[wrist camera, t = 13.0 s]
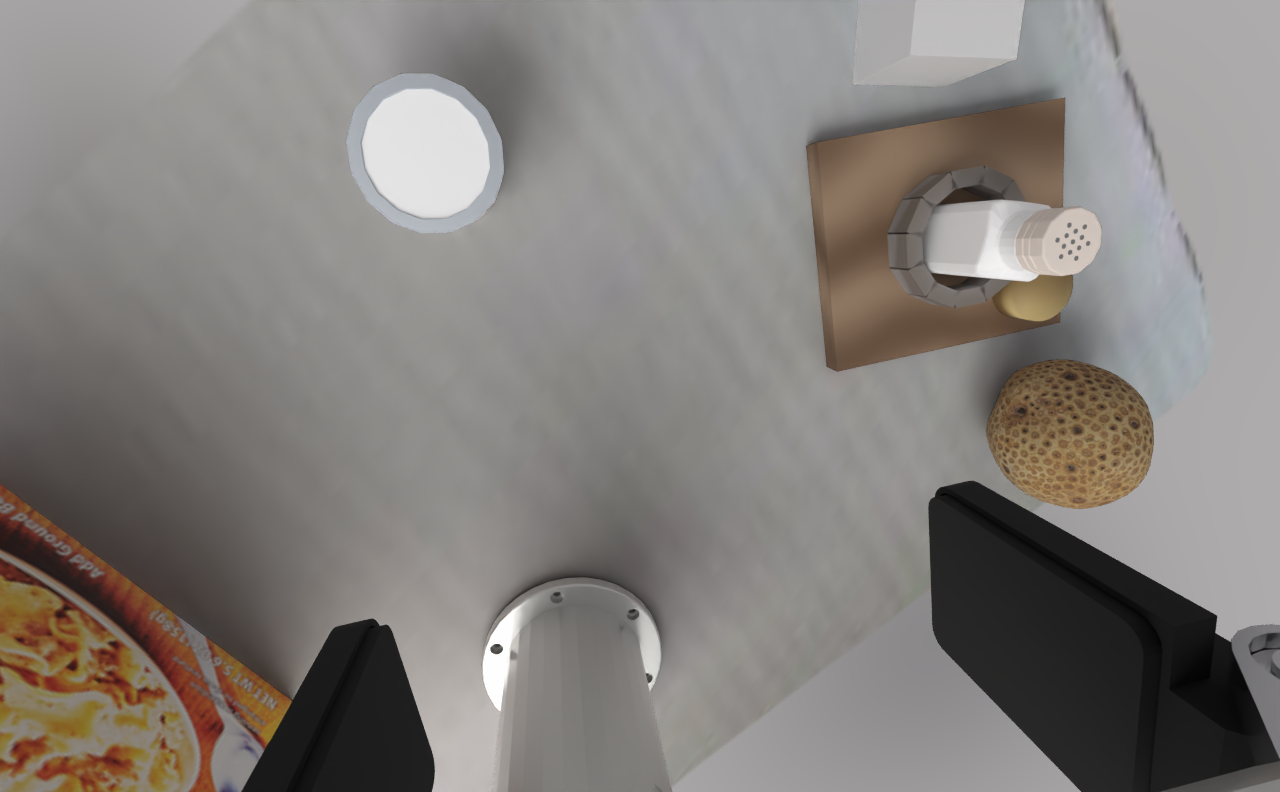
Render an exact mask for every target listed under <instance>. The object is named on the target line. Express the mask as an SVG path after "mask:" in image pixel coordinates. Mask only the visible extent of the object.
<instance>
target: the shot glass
mask: <svg viewBox="0 0 1280 792" xmlns="http://www.w3.org/2000/svg"><path fill="white" fill-rule="evenodd" d="M346 143H347V150H348V156H349V163H350V170H351V174H352V175H353V177H354V179H355V181H356V183H357V184H358V186H359V188H360V190H361V192H362V193H363V195H364V197H365V199H366V200H367V202H368V203H370V204H371V205H372V206H373V207H374V208H375V209H376V210H378V211H379V212H380V213H381V214H382V215H383V216H385V217H386V218H387V219H388V220H389V221H390V222H392V223H394V224H397V225H400V226H402V227H405V228H408V229H411V230H413V231H416V232H419V233H451V232H453V231H455V230H457V229H459V228H462V227H464V226H466V225H468V224H470V223H472V222H475V221H477V220H478V219H479V218H480V217H481V216H483V215H484V213H485V212H486V211H487V210H488V209H489V208H490V207H491V205H492V204H493V203H494V202H495V201H496V198H497V195H498V192H499V189H500V185H501V182H502V178H503V174H504V163H503V151H502V139H501V137H500V135H499V133H498V131H497V129H496V127H495V125H494V122H493V120H492V118H491V116H490V114H489V112H488V110H487V109H486V108H485V107H484V106H483V105H482V104H481V103H480V102H479V101H478V100H477V99H476V98H475V97H474V96H473V95H472V94H471V93H470V92H469V91H468V90H467V89H466V88H465V87H463V86H461V85H459V84H456V83H454V82H452V81H449V80H447V79H445V78H442V77H440V76H438V75H436V74H422V73H401V74H399V75H397V76H395V77H392V78H390V79H388V80H386V81H384V82H381V83H379V84H377V85H375V86H373V87H372V89H371V90H370V91H369V92H368V93H367V95H366V96H365V97H364V98H363V100H362V101H361V102H360V103H359V104H358V106H357V107H356V108H355V109H354V112H353V116H352V120H351V123H350V127H349V131H348V135H347V139H346Z"/></svg>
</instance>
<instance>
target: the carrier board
mask: <svg viewBox="0 0 1280 792" xmlns="http://www.w3.org/2000/svg"><path fill="white" fill-rule="evenodd" d="M1064 123H1065V98H1060V99H1054V100H1049V101H1043V102H1038V103H1032V104H1027V105H1021V106H1016V107H1010V108H1005V109H999V110H993V111H988V112H982V113H977V114H971V115H966V116H960V117H955V118H949V119H943V120H938V121H932V122H927V123H921V124H916V125H910V126H905V127H899V128H894V129H888V130H882V131H877V132H871V133H866V134H860V135H855V136H849V137H844V138H838V139H833V140H827V141H821V142H817V143H814V144H811V145H808V146H806V147H807V158H808V169H809V180H810V190H811V201H812V212H813V223H814V234H815V244H816V255H817V266H818V277H819V287H820V298H821V309H822V320H823V331H824V341H825V352H826V363H827V367H828V368H831V369H833V370H835V371H842V370H847V369H851V368H856V367H860V366H865V365H869V364H874V363H878V362H883V361H887V360H892V359H896V358H901V357H906V356H910V355H915V354H919V353H924V352H928V351H933V350H937V349H942V348H946V347H951V346H955V345H960V344H964V343H969V342H974V341H978V340H983V339H987V338H992V337H996V336H1001V335H1005V334H1010V333H1014V332H1019V331H1023V330H1028V329H1033V328H1037V327H1042V326H1046V325H1051V324H1055V323H1060V311H1061V310H1062V309H1063V308H1064V307H1065V305H1066V304H1067V302H1068V300H1069V298H1070V296H1071V293H1072V289H1073V276H1072V274H1071V275H1065V276H1054V275H1040V274H1039V275H1038V276H1037V278H1036V279H1034V280H1032V281H1029V282H1026V281H1014V280H1003V279H992V278H980V277H969V276H958V275H948V274H938V273H930V272H929V270H928V269H927V267H926V266H925V264H924V262H923V244H922V234H923V231H924V229H925V227H926V224H927V222H928V220H929V218H930V215H931V213H932V211H933V208H934V207H935V206H936V205H944V204H956V203H967V202H978V201H990V200H1012V201H1022V202H1030V203H1037V204H1043V205H1048V206H1050V207H1051V208H1063V167H1064Z"/></svg>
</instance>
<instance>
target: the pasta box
mask: <svg viewBox="0 0 1280 792" xmlns="http://www.w3.org/2000/svg"><path fill="white" fill-rule="evenodd" d="M291 702H292V701H291V700H290V699H288V698H287V697H286V696H284V695H283V694H282V693H280V692H279V691H278V690H276V689H275V688H274V687H272V686H271V685H270V684H268V683H267V682H265V681H264V680H263V679H261V678H260V677H259V676H257V675H256V674H255V673H253V672H252V671H251V670H249V669H248V668H247V667H245V666H244V665H243V664H241V663H240V662H239V661H237V660H236V659H235V658H233V657H232V656H231V655H229V654H228V653H227V652H225V651H224V650H222V649H221V648H220V647H218V646H217V645H216V644H214V643H213V642H212V641H210V640H209V639H208V638H206V637H205V636H204V635H202V634H201V633H200V632H198V631H197V630H196V629H194V628H193V627H192V626H190V625H189V624H188V623H186V622H185V621H183V620H182V619H181V618H179V617H178V616H177V615H175V614H174V613H173V612H171V611H170V610H169V609H167V608H166V607H165V606H163V605H162V604H161V603H159V602H158V601H157V600H155V599H154V598H153V597H151V596H150V595H149V594H147V593H146V592H145V591H143V590H142V589H140V588H139V587H138V586H136V585H135V584H134V583H132V582H131V581H130V580H128V579H127V578H126V577H124V576H123V575H122V574H120V573H119V572H118V571H116V570H115V569H114V568H112V567H111V566H110V565H108V564H107V563H106V562H104V561H103V560H101V559H100V558H99V557H97V556H96V555H95V554H93V553H92V552H91V551H89V550H88V549H87V548H85V547H84V546H83V545H81V544H80V543H79V542H77V541H76V540H75V539H73V538H72V537H71V536H69V535H68V534H67V533H65V532H64V531H63V530H61V529H60V528H58V527H57V526H56V525H54V524H53V523H52V522H50V521H49V520H48V519H46V518H45V517H44V516H42V515H41V514H40V513H38V512H37V511H36V510H34V509H33V508H32V507H30V506H29V505H28V504H26V503H25V502H24V501H22V500H21V499H19V498H18V497H17V496H15V495H14V494H13V493H11V492H10V491H9V490H7V489H6V488H5V487H3V486H2V485H1V484H0V792H241V791H242V789H243V787H244V786H245V784H246V782H247V780H248V778H249V777H250V775H251V773H252V771H253V769H254V768H255V766H256V764H257V762H258V761H259V759H260V757H261V755H262V753H263V752H264V750H265V748H266V746H267V744H268V743H269V741H270V740H271V738H272V736H273V735H274V733H275V731H276V729H277V728H278V726H279V724H280V722H281V720H282V719H283V717H284V715H285V713H286V711H287V710H288V708H289V706H290V704H291Z"/></svg>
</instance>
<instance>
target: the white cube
mask: <svg viewBox="0 0 1280 792" xmlns="http://www.w3.org/2000/svg"><path fill="white" fill-rule="evenodd" d="M1024 2H1025V0H859V4H858V17H857V30H856V43H855V57H854V70H853V83H852V85H883V86H919V87H945V86H948V85H951V84H953V83H956V82H958V81H961V80H963V79H966V78H969V77H971V76H974V75H976V74H979V73H982V72H984V71H987V70H989V69H992V68H995V67H997V66H1000V65H1002V64H1005V63H1008V62H1010V61H1013V60H1015V59H1017V53H1018V45H1019V38H1020V31H1021V24H1022V17H1023V9H1024Z"/></svg>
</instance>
